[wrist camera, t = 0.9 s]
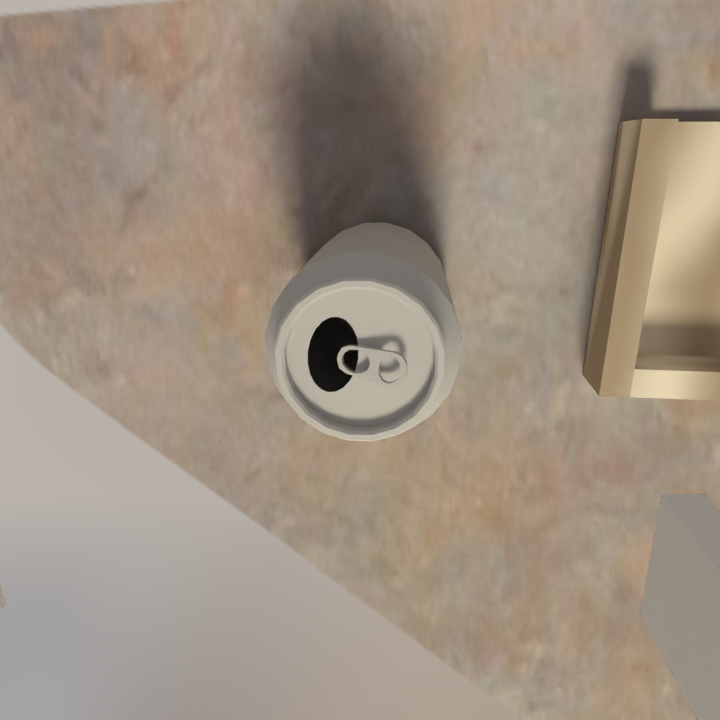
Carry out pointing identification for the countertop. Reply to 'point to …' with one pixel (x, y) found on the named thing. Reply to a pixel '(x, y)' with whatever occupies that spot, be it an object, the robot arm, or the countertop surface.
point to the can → (366, 335)
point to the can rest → (659, 266)
